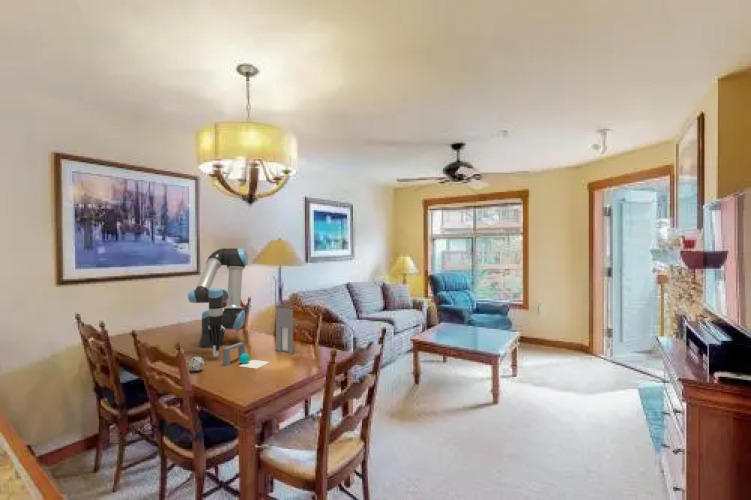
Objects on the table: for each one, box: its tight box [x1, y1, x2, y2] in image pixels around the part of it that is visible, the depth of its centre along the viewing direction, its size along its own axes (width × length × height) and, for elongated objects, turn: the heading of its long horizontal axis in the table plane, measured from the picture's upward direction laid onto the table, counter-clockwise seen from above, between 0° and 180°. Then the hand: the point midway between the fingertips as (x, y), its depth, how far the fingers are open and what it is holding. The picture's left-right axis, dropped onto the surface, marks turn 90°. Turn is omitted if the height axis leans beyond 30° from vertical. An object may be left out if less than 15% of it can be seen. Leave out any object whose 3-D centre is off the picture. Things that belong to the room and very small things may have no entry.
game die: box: [186, 355, 207, 373], centre depth 201 cm, size 9×8×10 cm
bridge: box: [222, 341, 246, 367], centre depth 218 cm, size 3×14×9 cm, turn 160°
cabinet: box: [275, 302, 294, 355], centre depth 241 cm, size 21×10×28 cm, turn 17°
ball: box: [238, 352, 250, 364], centre depth 214 cm, size 6×6×6 cm
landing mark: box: [238, 359, 271, 370], centre depth 213 cm, size 12×12×1 cm
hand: (215, 355), depth 222 cm, fingers closed
